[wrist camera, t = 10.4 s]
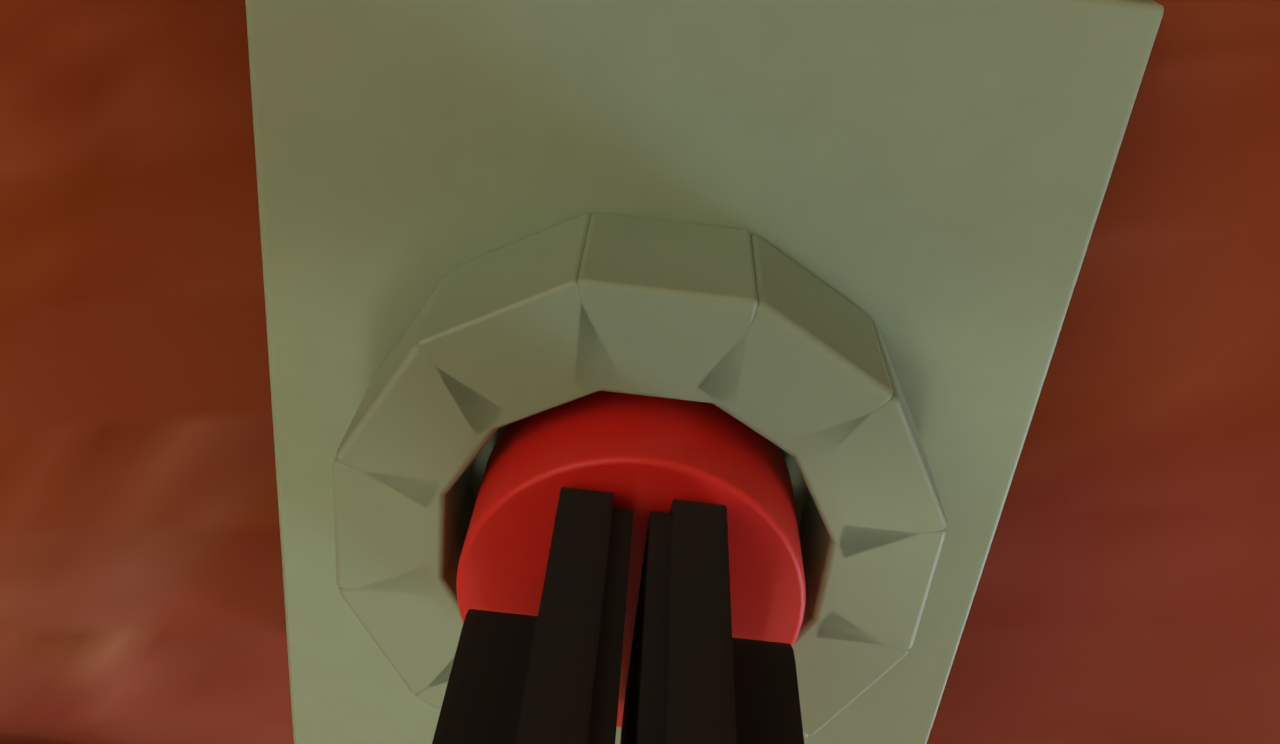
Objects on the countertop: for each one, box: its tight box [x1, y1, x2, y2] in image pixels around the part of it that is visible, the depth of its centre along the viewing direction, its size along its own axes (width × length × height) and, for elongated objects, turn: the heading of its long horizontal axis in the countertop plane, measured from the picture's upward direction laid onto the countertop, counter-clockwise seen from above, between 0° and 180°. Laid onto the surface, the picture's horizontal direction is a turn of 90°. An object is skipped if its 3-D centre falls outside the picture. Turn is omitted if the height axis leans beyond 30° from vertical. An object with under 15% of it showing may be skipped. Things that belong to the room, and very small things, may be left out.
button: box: [456, 391, 806, 727], centre depth 12 cm, size 4×4×2 cm
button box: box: [245, 0, 1164, 744], centre depth 14 cm, size 12×9×4 cm
